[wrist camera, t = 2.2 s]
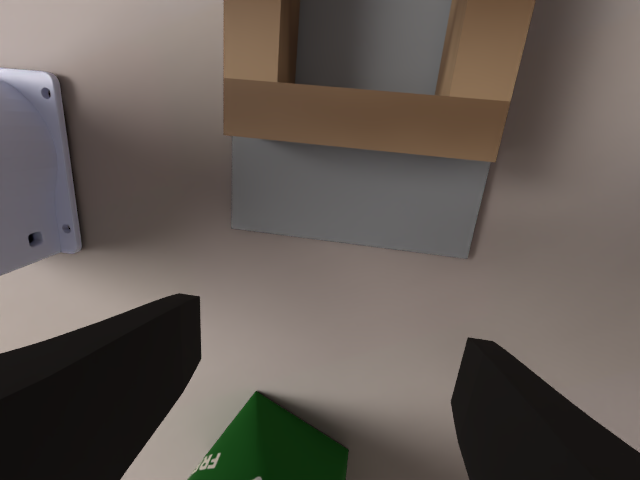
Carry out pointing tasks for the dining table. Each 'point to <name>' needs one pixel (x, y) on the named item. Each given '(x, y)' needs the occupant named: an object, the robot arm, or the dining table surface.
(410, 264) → the dining table surface
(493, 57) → the socket block
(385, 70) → the board
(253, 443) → the milk carton
